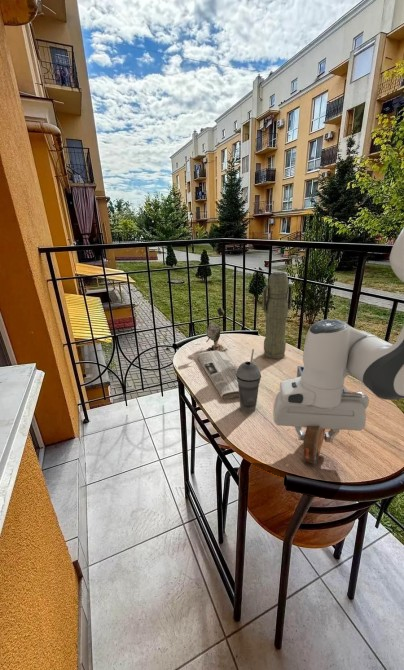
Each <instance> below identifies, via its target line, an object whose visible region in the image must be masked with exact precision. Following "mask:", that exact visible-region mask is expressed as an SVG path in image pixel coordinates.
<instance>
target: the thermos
mask: <svg viewBox="0 0 404 670" xmlns="http://www.w3.org/2000/svg"><path fill="white" fill-rule="evenodd" d="M293 290H294V289H293V286H292V284H289V279H288V274H287V273H285V272H281V271H278V272H276V271H275V272H272V273H270V275H269V278H268V280H267V285H265V286H264V287H263V288H262V301H261V310H262V311H263V312H264V313H265V315H264V316H265V338H264V340H263V356H264V357H265V358H266V359H268V360H275V361H276V360H282V359H284V358H285V355H286V354H285V353H286V347H287V340H286V338H285V337H286V327H287V326H286V325H287V318H288V315H289V311H290V310H291V309H292V302H293Z"/></svg>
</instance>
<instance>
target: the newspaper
mask: <svg viewBox="0 0 404 670" xmlns="http://www.w3.org/2000/svg"><path fill="white" fill-rule="evenodd" d="M196 358H197V360H198V361H199V363H200V365H201V366H202V368H203V370H204V371H205V373H206V375H207V376H208V378H209V379H210V381H211V383H212V385H213V386H214V388H215V389H216V391H217V392H218V394H219V396H220V398H221V399H225V400H226V399H233V398H239V388H238V382H237V377H236V373H237V369H238V366H236V363H234V361H233V360H232V359H231V357H230V356H229V355H228V354H227V352H226V350H223V351H217V350H216V351H209V350H207V351H203V352H198V353H197V354H196Z"/></svg>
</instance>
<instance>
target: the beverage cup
mask: <svg viewBox="0 0 404 670" xmlns="http://www.w3.org/2000/svg"><path fill="white" fill-rule="evenodd" d="M254 353H255V349H254V348H252V349H251V355H250V361H244V362H242V363H241V364H240V365H239V366H237V368H238V369H237V373H236V377H237V382H238V388H239V396H238V398H239V407H240V408H239V409H240V411H241V412H242V413H244V414H253V413H254V412H255V411H256V407H257V402H258V394H259V388H260V382H261V379H262V372H261V370H260V367H259V365H257V364H256V363H255V362H253V358H254Z"/></svg>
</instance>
